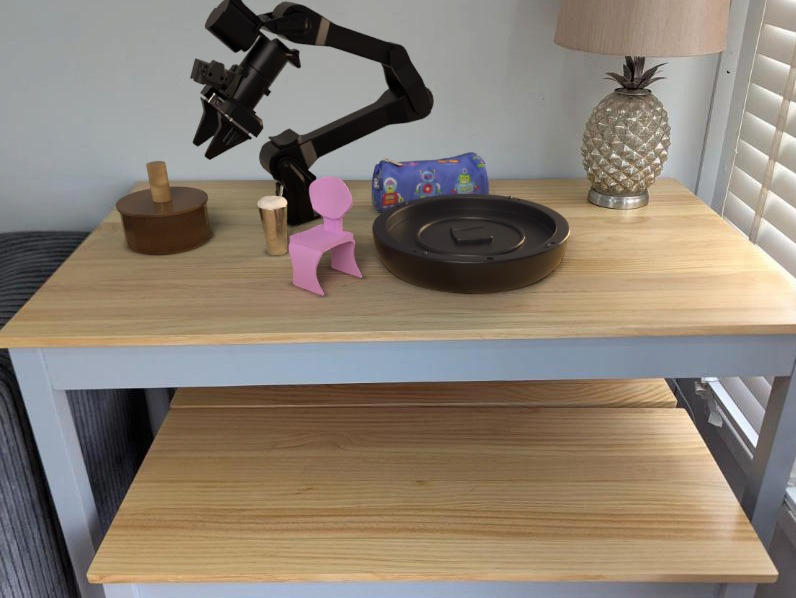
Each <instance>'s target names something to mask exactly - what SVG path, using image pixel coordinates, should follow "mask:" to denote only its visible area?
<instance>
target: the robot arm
mask: <svg viewBox="0 0 796 598" xmlns="http://www.w3.org/2000/svg"><path fill="white" fill-rule="evenodd" d="M204 29H205V30H206V31H207V32H209V33H210V34H211V35H212V36H214V38H216V39H217V40H218V41H219V42H221V43H222V44H223V45H225V47H227V48H228V49H229V50H230V51H231V52H232V53H234V54H237V53H239V52H243V53H246V52H247V53H246V54H245V56H244V57H243V59H242V61H240V63H239V64H237V63H235V64H232V65H231V66H230V67H229V69H228V68H226V67H225V66H226V65H225V63H223V62H219V61H216V60H214V59H211V61H210V62H208V61H205V60H202V59H199V58H194V61H193V64H192V65H193V66H192V69H191V72H190V77H189V78H190V80H193V82H195V83H197V84H199V85H202V86H203V87H202V89H201V91H200V92H199V93H200V94H201V96H200V98H199V99H200V102H201V106H202V114H201V117H200V120H199V123H198V126H197V129H196V131H195V134H194V137H193V138H192V139H193V140H192V144H193V145H194V146H195V147H197V148H198V147H200V146H201V145H203V144H204V143H206V142H208V141H209V140H210V139H211V140H210V142H209V144H208V146H207V148H206V150H205V153H204V155H203V156H204V158H206V159H207V160H209V161H211V160H213V159H215V158H217V157H218V156H220V155H221V154H224V153H225V152H227V151H229V150H231V149H233V148H235V147H237V146H238V145H241V144H242V143H245V142H247V141H251V140H253V137H255V138H258V137H259V135H261V132H262V131H263V130H264V121H263V119H262V118H261V117H260V116H258V115H257V112H256V111H255V108H256V107H257V105H258V104H259V103H260V101H261V100H262V99H263V97H264V96H266V97H269V96H270V94H271V93H272V90H270V87H272V84H273V83H274V82H275V81H276V80H277V78H278V77H279V75H280V74H281V72H282V71H283V69H284V68H286V67H285V66H287V64H289V65H291V66H292V67H294V68H296V69H301V68H302V63H301V59H300V50H299V49H297V48H290V47H288V46H287V45H286V44H285V43H284V42H283V41H281V39H282V40H285V41H288V42H290V43H293V44H297V45H305V46H313V47H314V46H315V47H327V48H332V49H335V50H339V51H341V52H345V53H348V54H350V55H355V56H357V57H361V58H364V59H366V60H370V61H373V62H376V63H379V64H380V65H381V67H382V71H383V75H384V80H385V83H386V85H387V89H386V90H385V91H384V92H383V93H382V94H381V95H380V96H379V98H378V99H377V100H376V101H373V103H370V104H368V105H366V106H364V107H361V108H360V109H357V110H355V111H353V112H351V113H349V114H346V115H344V116H342V117H340V118H338V119H336V120H333V121H332V122H329V123H326V124H325V125H323V126H321V127H318V128H316V129H314V130H312V131H310V132H307V133H304V134H299V133H297V132H296V131H295V130H293V129H291V128H287V129H285V130H284V131H282V132H280V133H279V134H277V135H273V136H272V135H271V136H268V141H266V142H265V143H264V144H262V146H261V147H260V151H259V154H258V155H259V156H258V161H259V164H260V166H261V167H262V169H263V170H265V171H266V172H267V173H268V174H269V175H271V177H272V180H274V181H276V182H274V184H275V185H274V186H275V196H279V194H280V186H281V185H282V186H283V191H282V197H283V198H285V199H286V201H287V225H290V226H298V225H301V224H304V223H307V222H310V221H313V220H317V219H319V218H321V217H322V215H320V214H319V213H318V212H316V211H315V210H314V209H313V207H312V203H311V199H310V195H309V188H310V185H311V183H312V182H314V181H315V180H317V176H316V175H315V174H314V173H313V172H312V171H311V170H310V169H311V167H312V166H313V165H314V164H315V163H316V162H317V161H318V160H319V159H320V158H321V157H323V156H326V155H328V154H330V153H332V152H334V151H336V150H339V149H341V148H343V147H345V146H347V145H349V144H352V143H353V142H357V140H360V139H362V138H364V137H367V136H369V135H370V134H373V133H375V132H377V131H380V130H381V129H383V128H386V127H389V126H391V125H401V124H403V125H404V124H409V123H413V122H417V121H421V120H424V119H426V118H427V117H428V116H429V115H431V113H432V110H433V108H434V102H435V99H434V94H433V92H432V91H431V90H430V89H429V87H427V86H426V84H425V82H424V80H423V77H422V76H421V74H420V73H419V72H418V70H417V68H416V67H415V64H413V62H412V60H411V58H410V55H409V53H408V51H407V49H406V47H405V46H403V45H402V44H400V43H395V42H392V41H385V40H382V39H381V38H376V37H374V36H372V35H369V34H366V33H362V32H359V31H357V30H354V29H351V28H348V27H345V26H342V25H339V24H336V23H335V22H333V21H331V20H329V19H328V18H326V17H325V16H324V15H322V14H320V13H318V12H316V10H313V9H312V8H310V7H308V6H307V5H304V4H300V3H297V2H293V1H287V0H285V1H281V2H280V3H278V4H277V5H276V6H275V7H274V9H273V10H272V11H268V12H265V13H259V14H256V13H255V12H254V11H253V10H252V9H250V8H249V7H248V5H246V4H245V3H244V2H243V0H222V1H221V2H220V3H219V4H218V5H217V6H216V7H214V8H213V9H212V11H211V12H210V14H209V15H208V17H207V18H206V21H205V23H204ZM261 30H263V31H265V32H267V33H270V34H273V35H276V36H277V37H275V38H273V39H270V38H269V37H268V36H267V35H265V34H264V33H263V32H262V31H261ZM202 96H203V97H204V98H203V97H202ZM250 134H251V135H252V136H253V137H252V136H251V135H250Z"/></svg>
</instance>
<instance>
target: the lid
mask: <svg viewBox="0 0 796 598" xmlns="http://www.w3.org/2000/svg"><path fill="white" fill-rule="evenodd" d="M145 166H146V167H145V168H146V171H147V177H148V182H149V188H146V189H142V190H137V191H134V192H132V193H128V194H127V195H124V196H122V197H121V198H119V199H118V200H117V201H116V202H115V209H116V210H117V212H118V213H119V214H120V213H121V214H124V215H127V216H132V217H140V218H156V217H167V216H174V215H179V214H183V213H187V212H190V211H193V210H196V209H198V208H200V207H202V206H203V205H205V204H206V203H207V204H208V201H209V196H208V194H207V192H206V191H205V190H203V189H200V188H196V187H190V186H179V185H178V186H176V185H175V186H170V181H169V176H168V170H167V163H166V161H163V160H154V161H149V162H146V164H145Z"/></svg>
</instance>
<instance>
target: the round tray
mask: <svg viewBox="0 0 796 598" xmlns="http://www.w3.org/2000/svg"><path fill="white" fill-rule="evenodd" d="M371 229H372V237H373V242H374V246H375V249H376V252H377V255H378V257H379V258H380V261H381V263H382V264H383V265H384V266H385V267H386V269H388V271H389V272H390V273H391V274H393V275H394V276H395V277H397V278H399V279H400V280H402V281H405V282H407V283H409V284H411V285H414V286H416V287H420V288H424V289H428V290H433V291H437V292H445V293H453V294H493V293H501V292H508V291H513V290H516V289H517V290H518V289H520V288H524V287H527V286H530V285H533V284H535V283H537V282H539V281H541V280H543V279H545V278H547V277H548V276H549V275H550V274H551V273H552V272H553V271H554V270H555V269H556V268H557V267H558V266H559V264H560V263H561V261H562V259H563V257H564V255H565V253H566V250H567V246H568V243H569V239H570V236H571V226H570V224H569V221H568V220H567V219H566V218H565V216H563V215H562V214H561V213H559V212H558V211H556V210H555V209H552V208H551V207H549V206H546V205H543V204H541V203H539V202H535V201H532V200H529V199H528V200H527V199H523V198H518V197H514V196H512V195H508V196H507V195H501V194H500V195H499V194H490V193H489V194H447V195H437V196H430V197H424V198H419V199H414V200H410V201H407V202H403V203H400V204H398V205H395V206H393V207H391V208H389V209H387V210H385V211H384V212H380V214H379V215H377V217H376V218H375V219H374V221H373V223H372V228H371Z"/></svg>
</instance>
